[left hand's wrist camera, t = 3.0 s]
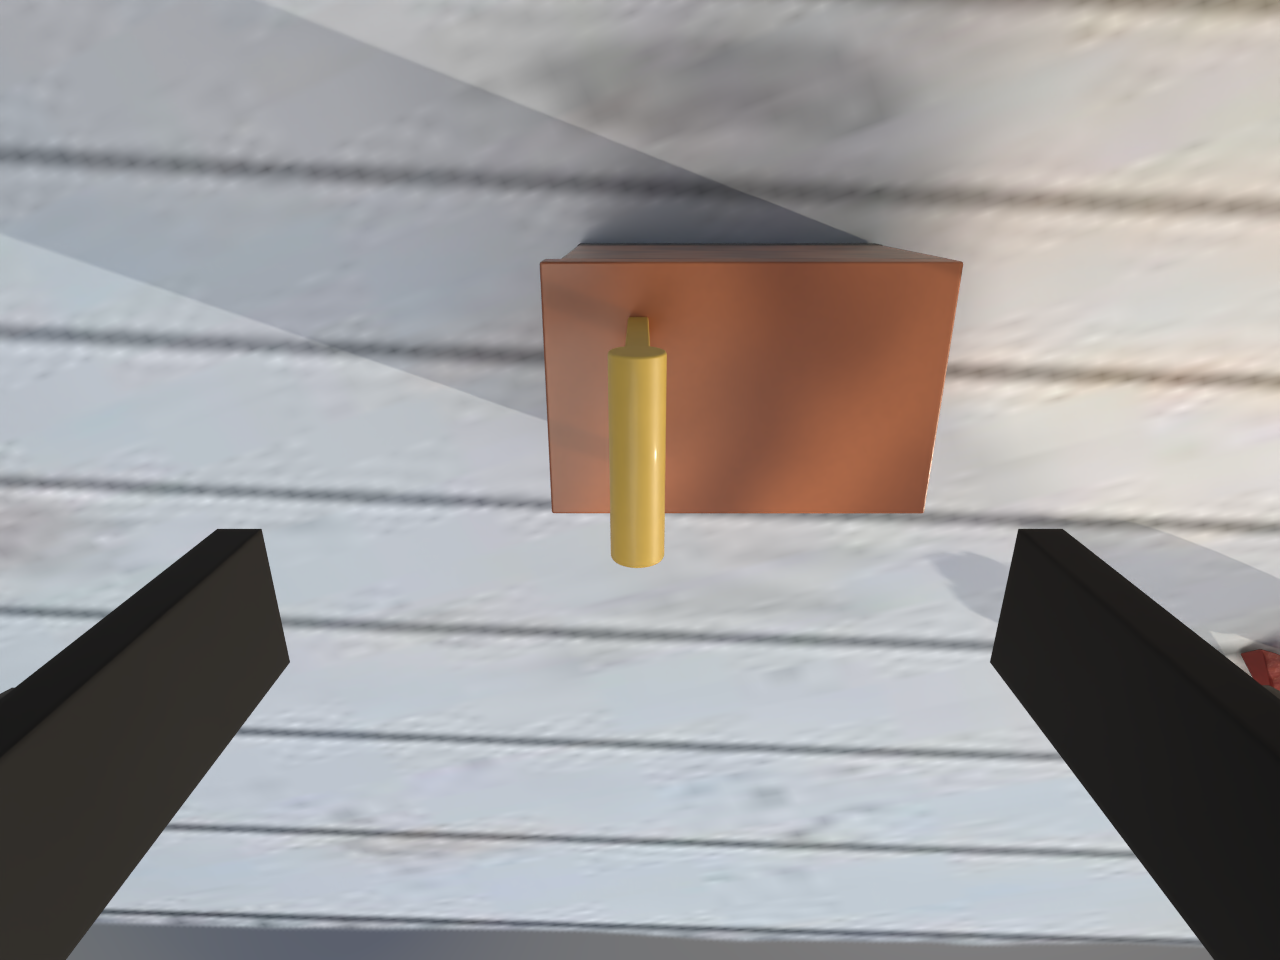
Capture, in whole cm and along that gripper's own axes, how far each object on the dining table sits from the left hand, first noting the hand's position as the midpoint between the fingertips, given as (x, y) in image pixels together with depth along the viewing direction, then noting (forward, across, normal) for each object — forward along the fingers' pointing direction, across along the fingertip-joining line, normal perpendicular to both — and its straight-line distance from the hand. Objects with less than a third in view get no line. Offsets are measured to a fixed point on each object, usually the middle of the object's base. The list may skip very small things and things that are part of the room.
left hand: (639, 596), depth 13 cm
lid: (+15, +4, 0) cm, 15 cm away
